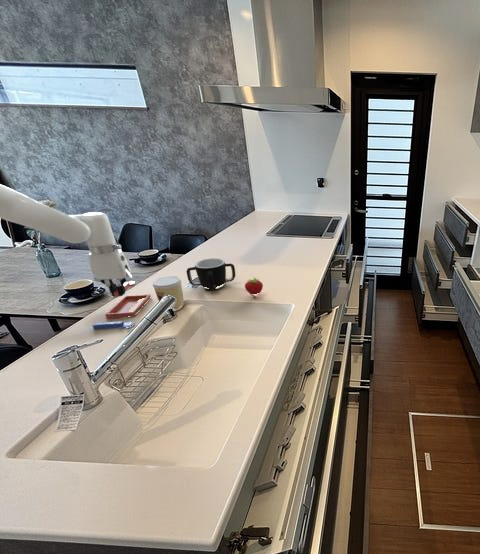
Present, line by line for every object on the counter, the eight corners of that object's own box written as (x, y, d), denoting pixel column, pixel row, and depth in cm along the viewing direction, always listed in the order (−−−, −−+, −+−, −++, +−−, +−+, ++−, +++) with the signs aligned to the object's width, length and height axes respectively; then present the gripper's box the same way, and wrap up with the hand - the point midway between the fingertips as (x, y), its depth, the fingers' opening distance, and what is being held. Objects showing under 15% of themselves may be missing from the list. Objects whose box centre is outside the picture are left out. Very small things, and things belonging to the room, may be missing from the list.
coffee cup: (157, 306, 123) (150, 279, 118) (183, 300, 129) (177, 274, 124) (162, 316, 117) (154, 288, 112) (189, 308, 123) (183, 282, 118)
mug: (218, 276, 152) (214, 254, 147) (240, 284, 145) (237, 261, 140) (186, 288, 139) (181, 264, 134) (209, 297, 132) (204, 272, 127)
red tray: (106, 319, 113) (105, 314, 113) (126, 300, 127) (125, 295, 126) (134, 317, 116) (133, 312, 115) (151, 298, 129) (150, 294, 128)
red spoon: (122, 296, 113) (121, 292, 112) (111, 297, 112) (109, 292, 111) (137, 282, 124) (136, 278, 123) (127, 283, 123) (126, 279, 122)
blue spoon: (91, 331, 106) (90, 327, 105) (97, 325, 109) (96, 321, 108) (131, 328, 109) (130, 324, 108) (136, 323, 112) (135, 318, 111)
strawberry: (247, 294, 137) (244, 273, 133) (265, 293, 138) (262, 273, 134) (244, 300, 131) (242, 279, 127) (263, 299, 133) (260, 278, 129)
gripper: (134, 244, 112) (147, 289, 119) (84, 245, 108) (100, 291, 116) (124, 251, 105) (138, 298, 112) (70, 252, 101) (88, 301, 109)
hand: (119, 294), depth 114 cm, fingers closed on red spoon, 1 cm apart
